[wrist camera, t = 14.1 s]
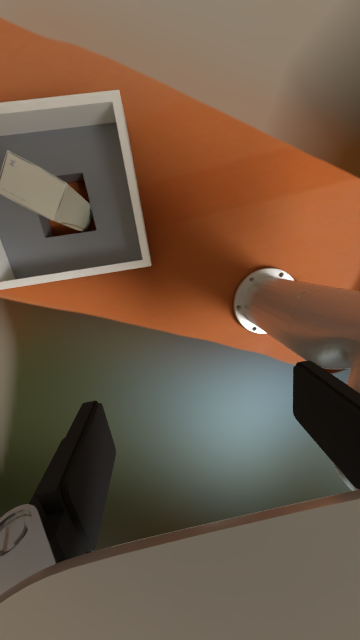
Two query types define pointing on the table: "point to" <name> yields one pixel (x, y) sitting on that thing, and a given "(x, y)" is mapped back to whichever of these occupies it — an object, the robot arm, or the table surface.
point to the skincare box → (43, 193)
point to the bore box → (71, 166)
